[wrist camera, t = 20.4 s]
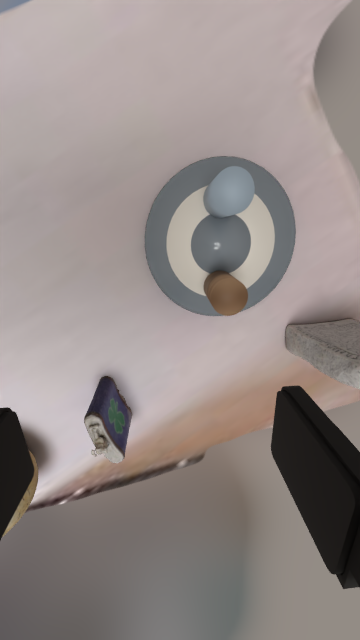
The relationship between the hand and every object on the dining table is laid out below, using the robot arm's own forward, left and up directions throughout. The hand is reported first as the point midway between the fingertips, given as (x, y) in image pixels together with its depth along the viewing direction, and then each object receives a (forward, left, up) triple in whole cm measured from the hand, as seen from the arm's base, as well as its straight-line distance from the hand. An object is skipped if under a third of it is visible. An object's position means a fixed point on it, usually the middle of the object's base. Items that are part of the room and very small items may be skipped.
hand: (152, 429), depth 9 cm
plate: (+8, +5, -28) cm, 29 cm away
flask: (-9, -19, -28) cm, 35 cm away
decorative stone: (+24, -9, -28) cm, 38 cm away
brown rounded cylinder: (+8, -1, -27) cm, 28 cm away
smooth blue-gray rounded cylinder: (+8, +10, -27) cm, 29 cm away
